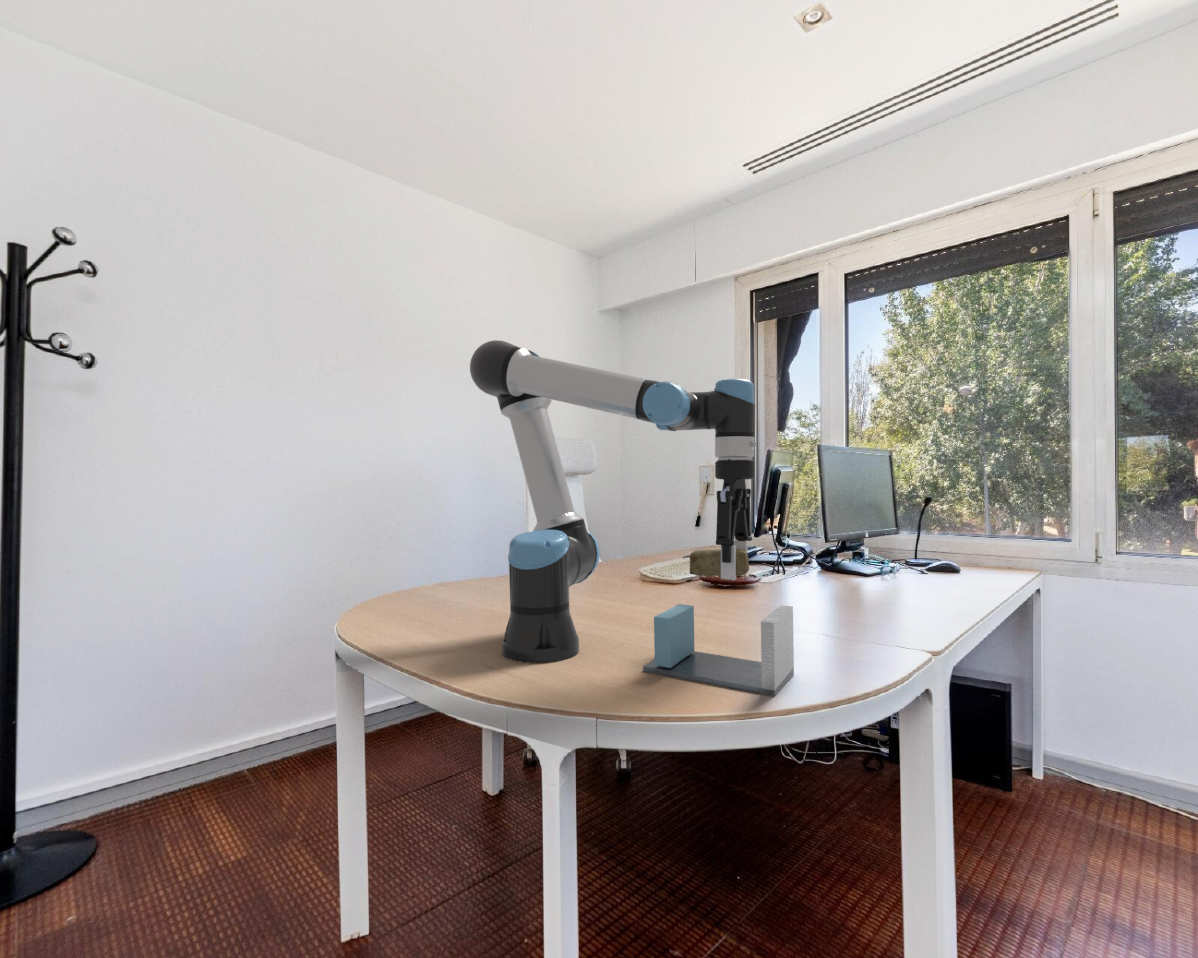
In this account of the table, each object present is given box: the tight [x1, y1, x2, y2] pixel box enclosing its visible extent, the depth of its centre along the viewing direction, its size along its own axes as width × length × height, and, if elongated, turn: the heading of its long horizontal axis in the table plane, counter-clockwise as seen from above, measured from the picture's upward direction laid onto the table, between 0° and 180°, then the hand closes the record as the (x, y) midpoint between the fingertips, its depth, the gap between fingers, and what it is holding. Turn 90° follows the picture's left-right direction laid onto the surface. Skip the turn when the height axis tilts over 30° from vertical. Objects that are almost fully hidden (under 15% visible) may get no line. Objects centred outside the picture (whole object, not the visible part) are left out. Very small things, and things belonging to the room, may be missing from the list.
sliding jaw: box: [653, 603, 695, 668], centre depth 105 cm, size 3×11×8 cm, turn 148°
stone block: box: [689, 549, 750, 577], centre depth 115 cm, size 6×12×5 cm, turn 71°
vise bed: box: [642, 605, 795, 697], centre depth 101 cm, size 23×12×12 cm, turn 58°
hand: (734, 575), depth 114 cm, fingers closed on stone block, 6 cm apart
